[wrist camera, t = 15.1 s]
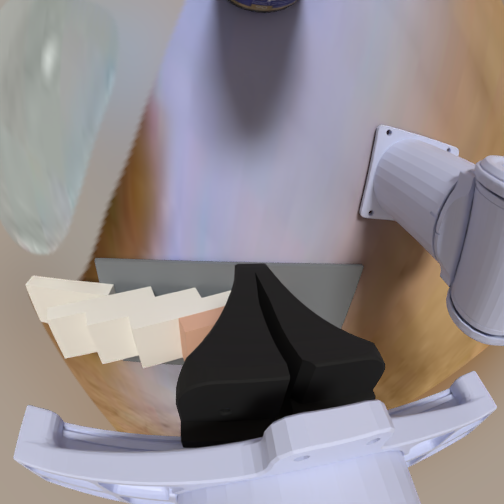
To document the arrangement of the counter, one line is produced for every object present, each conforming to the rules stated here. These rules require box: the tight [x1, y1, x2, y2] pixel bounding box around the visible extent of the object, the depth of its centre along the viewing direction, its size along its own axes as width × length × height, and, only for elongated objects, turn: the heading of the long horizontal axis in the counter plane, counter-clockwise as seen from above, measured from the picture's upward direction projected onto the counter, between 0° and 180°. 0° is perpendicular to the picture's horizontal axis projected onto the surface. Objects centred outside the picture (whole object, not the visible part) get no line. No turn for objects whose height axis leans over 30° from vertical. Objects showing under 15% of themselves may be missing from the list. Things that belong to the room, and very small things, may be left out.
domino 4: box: [128, 290, 231, 368], centre depth 24 cm, size 2×5×10 cm
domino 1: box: [26, 276, 116, 323], centre depth 24 cm, size 2×5×10 cm
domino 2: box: [47, 286, 155, 358], centre depth 23 cm, size 2×5×10 cm
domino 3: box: [85, 288, 201, 364], centre depth 24 cm, size 2×5×10 cm
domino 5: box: [178, 306, 225, 361], centre depth 25 cm, size 2×5×10 cm
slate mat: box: [95, 258, 364, 365], centre depth 28 cm, size 24×14×1 cm, turn 85°
